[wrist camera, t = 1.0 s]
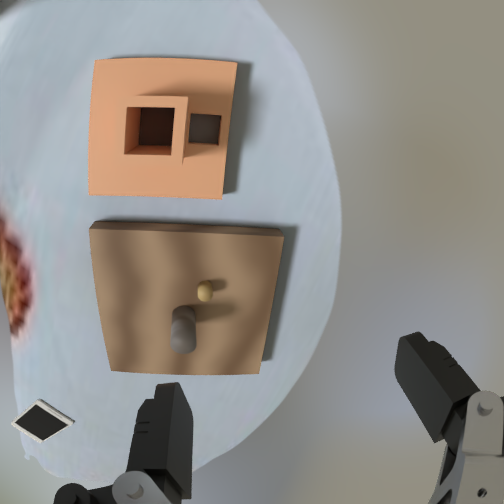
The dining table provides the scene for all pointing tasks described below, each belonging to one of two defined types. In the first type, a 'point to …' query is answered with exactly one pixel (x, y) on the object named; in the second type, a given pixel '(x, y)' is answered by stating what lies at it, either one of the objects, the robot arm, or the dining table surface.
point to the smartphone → (41, 421)
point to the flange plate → (181, 152)
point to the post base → (184, 295)
